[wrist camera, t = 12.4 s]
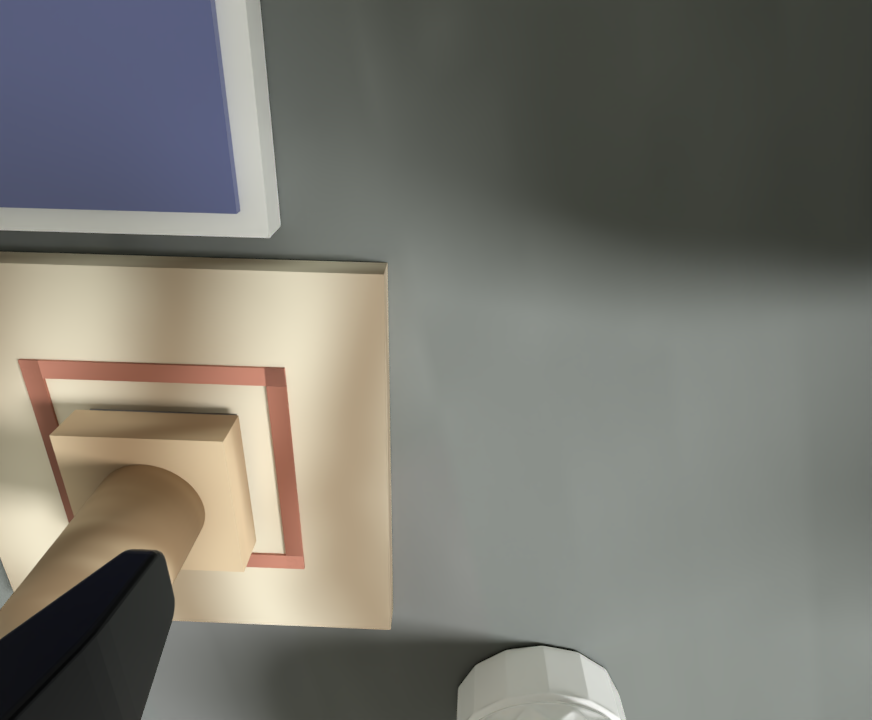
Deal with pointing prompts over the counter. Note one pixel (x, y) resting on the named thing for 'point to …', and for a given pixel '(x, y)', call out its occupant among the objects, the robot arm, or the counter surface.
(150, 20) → the ink pad
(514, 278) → the counter surface
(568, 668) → the white cup
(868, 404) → the counter surface
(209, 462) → the stamp
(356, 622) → the board
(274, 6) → the counter surface
